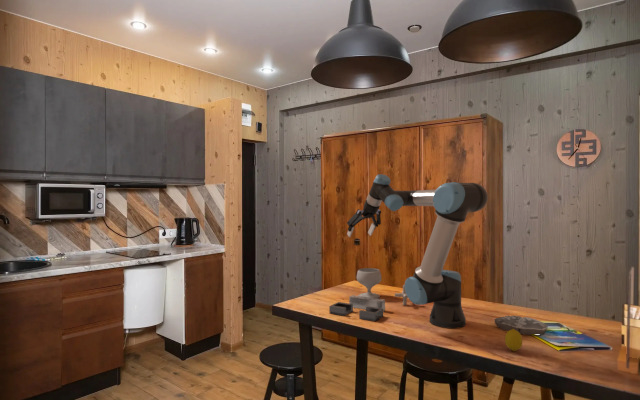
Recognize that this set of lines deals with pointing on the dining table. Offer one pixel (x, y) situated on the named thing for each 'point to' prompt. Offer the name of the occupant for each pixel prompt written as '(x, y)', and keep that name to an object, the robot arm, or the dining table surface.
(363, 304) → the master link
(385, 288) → the dining table surface
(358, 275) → the chalice
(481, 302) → the dining table surface
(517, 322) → the mottled grey flat slab
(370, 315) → the dark grey open boxes
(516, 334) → the lemon
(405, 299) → the pipe connector
